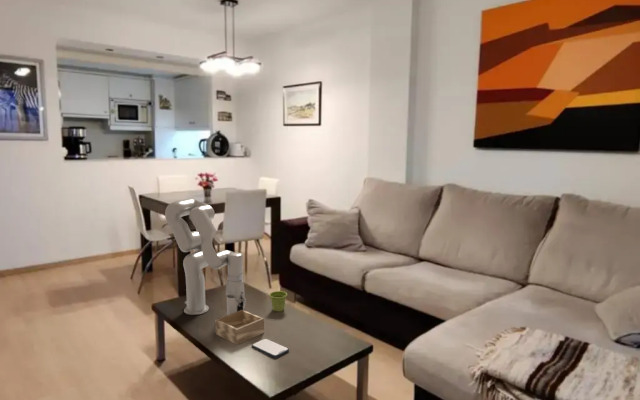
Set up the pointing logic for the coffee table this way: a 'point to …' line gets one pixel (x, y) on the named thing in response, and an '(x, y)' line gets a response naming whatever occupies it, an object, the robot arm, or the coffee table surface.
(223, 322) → the open wooden crate
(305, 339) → the coffee table surface
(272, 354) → the smartphone
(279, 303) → the plant pot
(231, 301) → the mug
